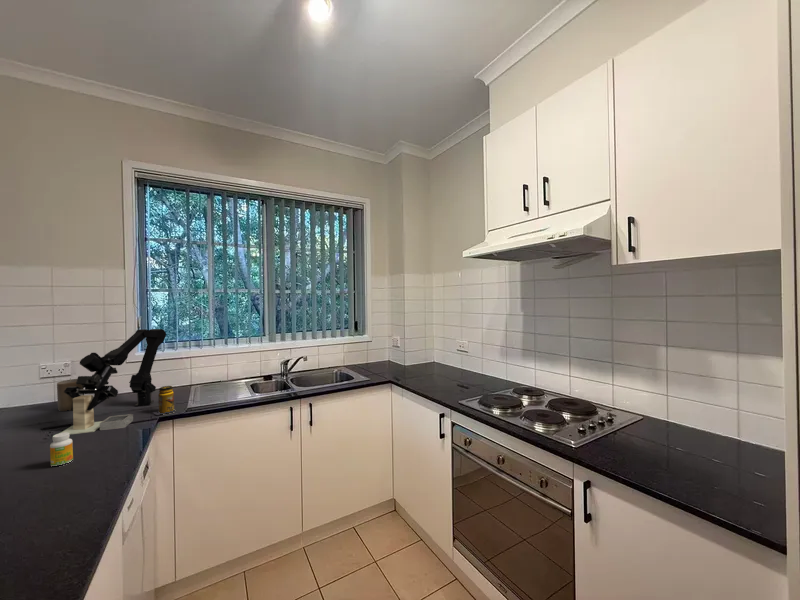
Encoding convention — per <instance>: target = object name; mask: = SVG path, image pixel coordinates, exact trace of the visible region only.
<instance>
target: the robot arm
mask: <svg viewBox="0 0 800 600" xmlns="http://www.w3.org/2000/svg"><path fill="white" fill-rule="evenodd" d="M166 337H167V332H166V331H165V329H162V328H151V329H146V328H143V329H141V328H139V329H137V330H136V331H135V333H134V334H132V335H131V336H130V337H129V338H128V339H127V340H126V341H124V342H123V343H122V344H121V345H120V346H119V347H117V348H115V349H112V350H110V351H109V352H107V353H106V354H104V356H100V355H99V354H98V353H97V352H91V353H90V354H87V355H86V356H84V357H82V358H80V361H79V365H81V366H82V367H83V368H85V369H86V370H87V371H89V372H91V373H93V372H94V374H92V375H78V376H77V378H76V379H77V381H76V384H81V385H82V387H83V388H84V389H82V390H81V389H80V388H79V387H78V386H77V387H67V388H66V389H65V391H64V393H66V394H67V395H68V396H70V397H71V398H76V397H79V396H82V395H93V394H94V395H93V400H92V401H91V403H90V405H89V407H88V409H87V410H89V411H90V410H91V409H93V408H95V407H97V406H98V405H99V404H102V403H103V402H104V401H106V400H109V399H110V398H116V397H118V394H119V389H116V387H114V386H113V385H109V384H110V383H109V379H110V378H111V376H112V375H113V374H118V370H117V367H113V366H121V365H123V364H124V363H125V361H126V360H127V359H128V357H129V354H130V352H132V351H133V350H134V349H135V348H136V347H137V346H138V345H139V344H140V343H142V342H143V341H144V340H145V341H146V348H145V351H144V355H143V357H142V360H141V363H140V367H139V369H138V372H136V374H132V375H131V376H130V377H131V378H130V380H129V382H128V383H129V388H130V389H131V392H132V393H133V394H136V399H137V401H136V402H137V403H136V404H134V407H141V406H143V405H144V406H150V405H151V404H153V403H154V401H155V400H152V393H154V392H155V391H156V388H157V387H156V386H155V385H154V384H153V383H152V380H153V379H152V375H151V371H152V369H153V365H154V362H155V358H156V356H157V355H156V354H157V352H158V350H159V347H160V345H162V343H164V341H165V339H166ZM70 411H71V412H73V401H72V407H71V410H70Z"/></svg>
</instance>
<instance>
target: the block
mask: <svg viewBox="0 0 800 600" xmlns="http://www.w3.org/2000/svg"><path fill="white" fill-rule="evenodd" d="M93 398H94V395H93V394H84V395H82V396H79V397H76V398H73V411H72V415H73V416H72V418H73V423H72V424H73V425H74V430H78V429H87V428H89V427H91V426H93V425H94V422H95V412H94V411H95V410H94V408H95V407H94V408H93V409H91V410H90V411H89V410H87V409H88V407H89V405H90V403H91V401H92V400H93Z"/></svg>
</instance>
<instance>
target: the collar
mask: <svg viewBox="0 0 800 600" xmlns="http://www.w3.org/2000/svg"><path fill="white" fill-rule="evenodd" d="M133 421H134V414H133V413H129V414H119V415H112V416H111V415H110V416H108V417H107V418H105V419H104V420H102V422H101V423H100V428H99V431H108V430H115V429H116V430H117V429H125V428H127V427H128V425H130V424H131V423H132V422H133Z"/></svg>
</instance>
